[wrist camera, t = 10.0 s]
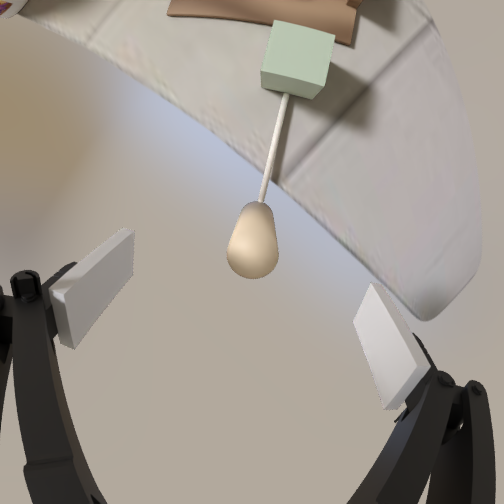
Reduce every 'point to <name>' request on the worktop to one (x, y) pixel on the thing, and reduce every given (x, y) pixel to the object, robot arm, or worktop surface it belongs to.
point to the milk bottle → (10, 7)
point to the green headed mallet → (290, 82)
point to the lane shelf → (278, 13)
